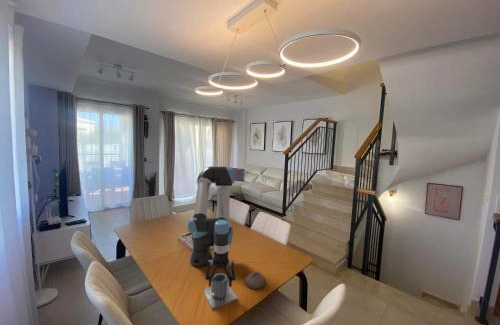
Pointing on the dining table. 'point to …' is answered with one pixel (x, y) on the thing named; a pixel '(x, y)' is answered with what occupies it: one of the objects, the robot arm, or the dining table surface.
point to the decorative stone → (255, 280)
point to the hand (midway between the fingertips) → (220, 291)
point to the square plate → (219, 298)
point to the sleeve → (219, 285)
